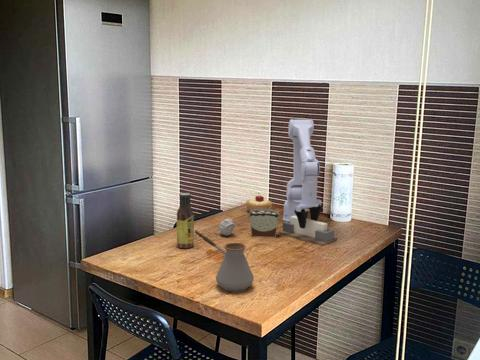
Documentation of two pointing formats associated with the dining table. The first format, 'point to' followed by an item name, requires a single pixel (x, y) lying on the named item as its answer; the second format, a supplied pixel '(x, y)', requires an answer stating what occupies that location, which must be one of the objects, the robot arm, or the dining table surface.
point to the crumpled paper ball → (226, 227)
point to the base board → (306, 238)
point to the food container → (264, 222)
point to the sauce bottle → (185, 222)
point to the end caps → (318, 234)
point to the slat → (308, 226)
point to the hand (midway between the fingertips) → (308, 225)
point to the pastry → (258, 203)
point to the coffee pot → (232, 267)
